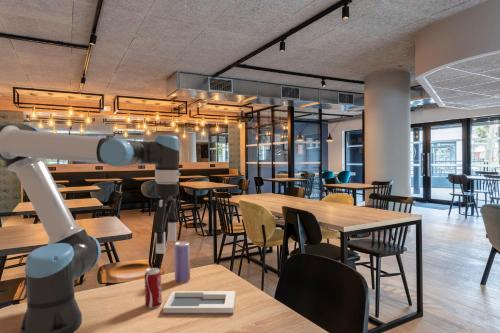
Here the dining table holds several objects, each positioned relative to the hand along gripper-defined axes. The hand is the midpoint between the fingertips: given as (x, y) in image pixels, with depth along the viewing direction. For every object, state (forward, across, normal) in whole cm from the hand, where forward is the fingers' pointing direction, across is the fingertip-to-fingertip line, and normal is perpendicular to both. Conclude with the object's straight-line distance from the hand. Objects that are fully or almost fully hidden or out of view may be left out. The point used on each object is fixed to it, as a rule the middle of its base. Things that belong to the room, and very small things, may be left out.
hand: (166, 246), depth 105 cm
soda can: (+20, 0, +4) cm, 21 cm away
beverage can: (+20, +21, -1) cm, 29 cm away
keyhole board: (+20, 0, -12) cm, 23 cm away
